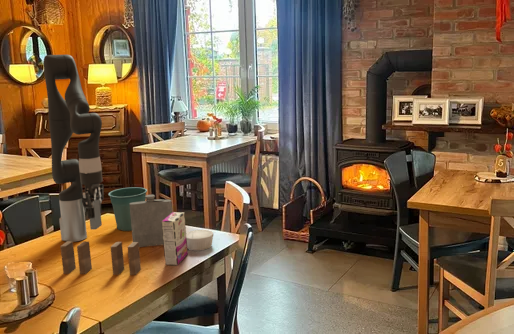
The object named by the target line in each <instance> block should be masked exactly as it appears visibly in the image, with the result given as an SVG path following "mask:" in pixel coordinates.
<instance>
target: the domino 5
mask: <svg viewBox="0 0 514 334" xmlns="http://www.w3.org/2000/svg"><path fill="white" fill-rule="evenodd" d="M127 256H128V266H129V267H128V268H129V276H137V274H139V272H140V271H141V270H142V266H141V256H140V247H139V242H133V241H132V242H131V243H130V244H129V245H128V246H127Z"/></svg>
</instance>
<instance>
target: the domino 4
mask: <svg viewBox="0 0 514 334" xmlns="http://www.w3.org/2000/svg"><path fill="white" fill-rule="evenodd" d="M110 257H111V258H110V259H111V266H112V267H111V268H112V275H114V276H119V275H121V273H122V272H124V270H125V262H124V261H125V260H124V252H123V241H116V242H114V243H113V244H112V245H111V246H110Z"/></svg>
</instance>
